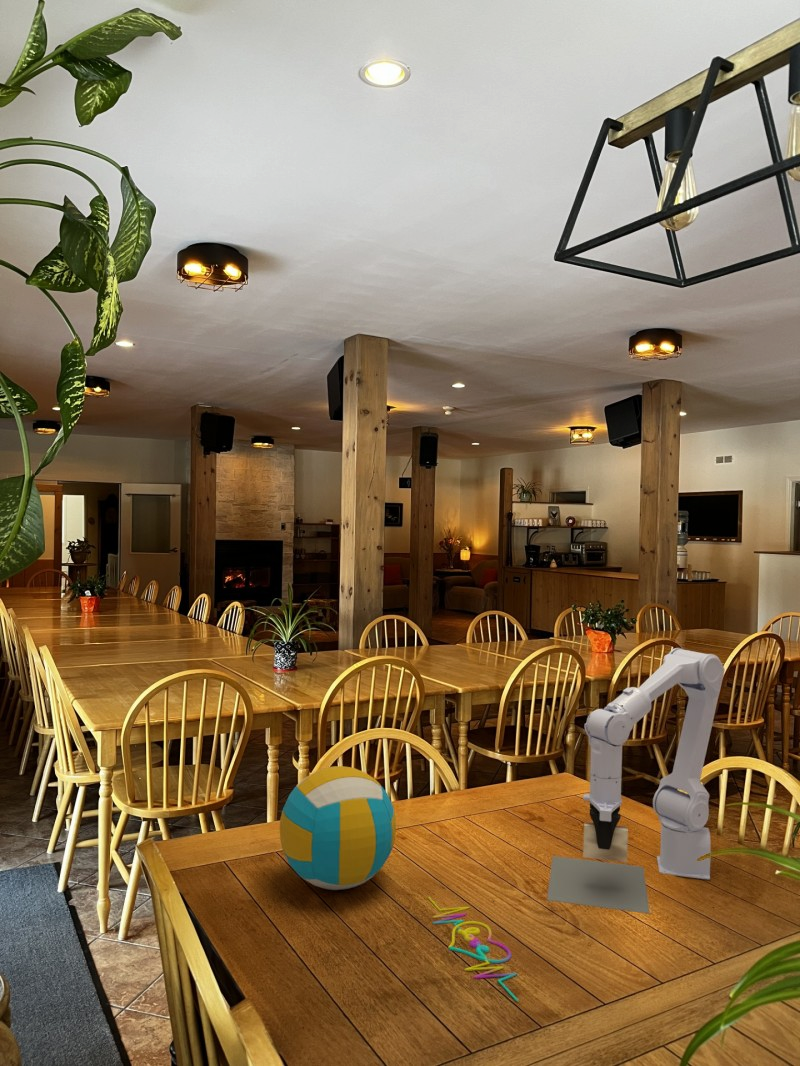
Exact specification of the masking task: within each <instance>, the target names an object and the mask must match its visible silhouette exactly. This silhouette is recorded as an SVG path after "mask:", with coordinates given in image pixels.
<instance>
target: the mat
mask: <svg viewBox="0 0 800 1066" xmlns="http://www.w3.org/2000/svg"><path fill="white" fill-rule="evenodd" d="M645 877H646V875H645V871H644V866H640V865H639V866H638V865H631V864H623V863H615V862H614V863H613V862H606V861H597V860H589V859H582V858H581V859H579V858H573V857H572V858H571V857H564V856H555V855H552V859H551V866H550V874H549V881H548V887H547V888H548V889H547V898H546V900H547V901H549V902H550V901H551V902H559V903H565V904H566V903H567V904H571V905H572V904H574V905H582V906H588V907H596V908H603V909H604V908H605V909H610V910H620V911H627V912H635V913H641V914H649V915H650V906H649V899H648V891H647V886H646V885H647V884H646V878H645Z"/></svg>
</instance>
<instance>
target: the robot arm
mask: <svg viewBox="0 0 800 1066" xmlns="http://www.w3.org/2000/svg"><path fill="white" fill-rule="evenodd" d="M724 674H725V667H724V665H723V663H722V661H721V660H720V658H719V657H718V656H717V655H716V654H712V653H703V652H699V651H698V652H697V651H692V650H688V649H683V648H680V647H676V648H673V649H671V650H670V651H669V653H668V654H666V655H664V656H663V661H662V665H661V666H659V667H658V668H657V670H655V671H654V672H653V673H652V674H651V676H649V677H648V678H647V679H646V680H645V681H644V682H643V683H642V684H641V685H640V686H639V687H635V686H631V687H626V688H625V689H623V690H622V693H621V694H620V695H619V696H617V697H616V698H615V699H614V700H613V701H611V702H609V703H608V704H607V705H606V706H605V707H604V708H597V709H595V710H594V711H592V712H590V714H589V715H588V716H587V718H586V723H584V731H585V733H586V735H587V736H588V745H589V746H590V766H589V767H590V771H589V773H590V775H589V776H590V777H589V793H584V794H583V799H582V800H583V801H586V802H589V816H590V818H591V821H592V823H594V827H595V831H596V838H597V844H598V848H599V849H607V850H610V847H611V843H612V838H613V834H614V830H615V827H616V826H618V823H619V821H620V820H621V818H622V816H621V813H619V812H620V811H621V805H622V804H623V798H622V764H623V744H624V743H626V742H627V740H628V739H629V736H630V733H631V731H632V730H633V727H634V726H635V725H636V723H638V722H639V721H640V720H641V719H642V718H644V717H645V716H646V715H647V714H649V713H650V712H651V710H652V702H653V701H655V700H656V699H658V698H659V697H661V696H662V695H663V694H664V693H666V692H667V691H669V690H670V689H671V688H673V687H674V686H676V685H679V687H681V688H682V689H683V690H684V691H685V694H686V695H687V697H688V701H687V704H686V705H687V706H686V710H685V715H684V719H683V724H682V728H681V733H680V737H679V742H678V746H677V749H676V755H675V758H674V759H675V760H674V764H673V768H672V772H671V773H669V774H668V775H666V776H664V777H663V778H661V779H660V781H659V786H658V789H657V790H656V791H655V793H654V796H653V798H652V808H653V811H654V813H655V814H656V815H657V816H658V821H659V822H660V853H659V855H658V856H656V860H657V866H658V867H657V868H658V872H659V873H660V874H664V875H673V876H675V877H676V876H677V877H683V878H690V879H691V878H692V879H699V880H700V879H701V880H711V876H710V875H711V857H710V858H707V859H704V860H701V861H697V859H698V858H700V857H701V856H704V855H706V854H708V853H710V854H711V833H710V832H711V831H710V829H709V828H708V827H704V826H706V823H707V822H708V819H709V815H710V814H709V813H710V809H709V808H710V807H709V801H710V800H709V799H710V793H709V792H708V791H707V789H706V788H705V786H704V785H703V784H702V782H701V778H702V773H703V772H702V771H703V770H704V764H705V758H706V755H707V750H708V746H709V741H710V736H711V732H712V729H713V728H712V727H713V723H714V718H715V713H716V709H717V704H718V699H719V696H720V692H721V687H722V683H723V678H724Z"/></svg>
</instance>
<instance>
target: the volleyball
mask: <svg viewBox="0 0 800 1066" xmlns="http://www.w3.org/2000/svg"><path fill="white" fill-rule="evenodd" d="M279 819H280V820H279V837H280V838H279V840H280V843H281V848H282V852H283V854H284V856H285V857H286V859H287V861H288V864H289V865H290V867H291V868H292V869H293V870H294V871H295V873H296V874H297V875H298V876H299V877H300V878H302V880H305V881H306V882H308V883H309V884H312V885H313V886H315V887H318V888H322V889H325V890H331V891H338V890H348V889H351V888H356V887H358V886H361V885H363V884H364V883H366V882H367V881H369V880H370V879H371V878H373V877H374V876H375V875H376V874H377V873H378V872H379V871H380V870H381V869H382V868H383V867H384V865H385V863H386V862H387V860H388V858H389V857H390V855H391V852H392V850H393V848H394V845H395V841H396V835H397V834H396V831H397V821H396V814H395V809H394V805H393V804H392V800H391V799H390V797H389V794H388V792H387V791H386V790H385V789H384V787H383V786H382V785H381V783H380V782H378V780H376V779H375V778H374V777H373V776H371V775H369V774H368V773H367V772H364V771H362V770H359V769H357V768H355V767H350V766H343V765H337V766H328V767H325V768H322V769H319V770H315V772H313V773H311V774H310V775H307V776H306V777H304V778H303V779H302V780H301V781H299V783H298V784H296V786H295V787H294V788H293V789H292V790H291V792H290V794H289V795H288V798H287V800H286V802H285V804H284V806H283V808H282V811H281V816H280V818H279Z"/></svg>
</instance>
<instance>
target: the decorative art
mask: <svg viewBox="0 0 800 1066" xmlns="http://www.w3.org/2000/svg"><path fill="white" fill-rule="evenodd" d="M427 899H428V900H429V901H430V902H431V903H432V905H433V906H435V908H436V909H437V910H438V911H439V912H444V913H440V914H437V915H432V916H431V919H440V920H436V921H432V923H431V924H432V925H441V924H443V925H444V924H453V925H454V927H453V929H452V931H451V942H450V944H449V946H448V947H447V948H448V950H449V951H453V952H457V953H461V954H463V955H467V956H468V957H469V956H470V957H471V958H473V959H474V958H475V959H476V960H479V961H483V963H480V964H479V963H478V964H476V965H472V966H470V967H466V968H464V970H463V971H465V972H472V971H485V972H482V973H479V974H475V975H473V977H472V978H473V979H475V980H476V979H477V980H478V979H489V978H499V979H497V982H498V983H499V985H500V986H501V987H502V988H503V989H504V990H506V992H507V993H508V994H509V995H510V996H511V997H512V998H513V1000H514V1001H515V1002H516V1003H519V998H517V997H516V995H514V993H513V992H512V991H511V990H510V989H509V988H508V987H507V986H506V985H505V984H504V983H503V981H506V980H508V979H511V978H513V977H516V976H517V975H518V973H517V972H512V973H498V974H493V973H495V972H498V971H500V970H503V969H504V966H503V965H502V966H488V967H487V965H490V964H504V963H506V962H509V960H511V958H512V952H511V950H510V949H509V948H508V947H507V946H506V945H504V943H500V942H499V941H496V940H494V939H492V936H493V934H492V929H491V928H490V926H489V925H487V924H485V923H484V922H480V921H474V920H472V921H471V920H468V921H467V920H466V921H464V920H463V919H459V918H463V917H466V916H467V913H458V912H462V911H465V910H468V909H470V906H461V907H458V906H457V907H450V908H440V907H439V906H438V905H437V904H436V902H435V901H434V900H433V899H432V898H431V897H430V896H428V897H427ZM445 911H446V912H445ZM454 913H456V914H454ZM443 918H444V919H443ZM467 925H478V926H481V927H482V928H483V927H484V928H486V930H487V931H488V937H487V939H486V940H487V942H488V943H490V944H492V945H496V946H497V947H500V948H501V949H503V950H505V951H506V953H507V956H506V957H504V958H502V959H501V958H500V959H492V958H491V959H490V958H488V957H487V955H485V954H487V953H488V954H489V953H490V948H489V946H488V945H485V944H482V942H481V941H480V940H479V938H478V937H476V936H478V935H480V934H481V930H480V928H478V927H475V926H470V927H468V928H465V929H462V928H461V927H463V926H467ZM456 933H457V934H458V935H461V936H462V938H463V939H464V941H465V942H467V943H469V947H470V948H472V949H475V953H473V952H471V951H467V950H465V949H462V948H458V947H454V945H455V942H456V940H455V939H456ZM483 966H484V967H483ZM485 966H486V967H485ZM487 970H488V971H487ZM500 977H501V978H500Z"/></svg>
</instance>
